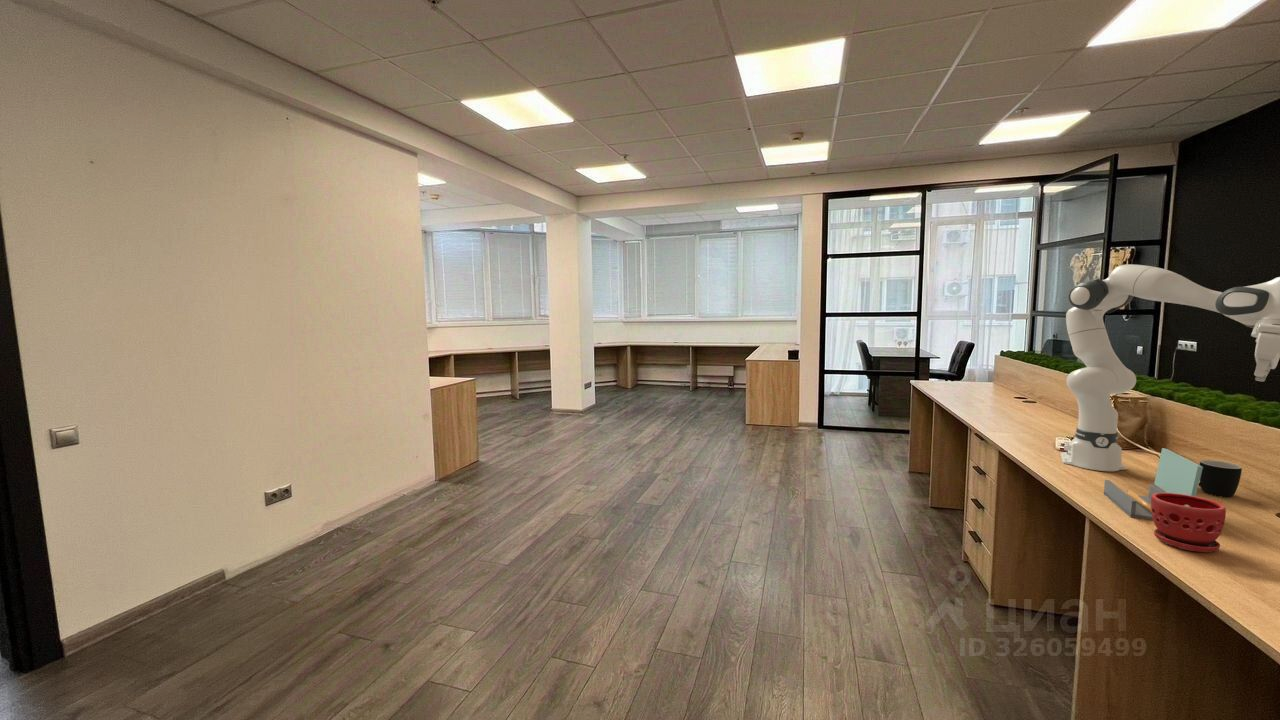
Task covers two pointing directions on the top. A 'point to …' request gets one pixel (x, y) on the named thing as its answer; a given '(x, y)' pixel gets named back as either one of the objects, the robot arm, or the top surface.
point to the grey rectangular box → (1131, 500)
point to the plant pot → (1187, 521)
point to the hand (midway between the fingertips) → (1259, 378)
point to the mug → (1219, 478)
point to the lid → (1177, 474)
